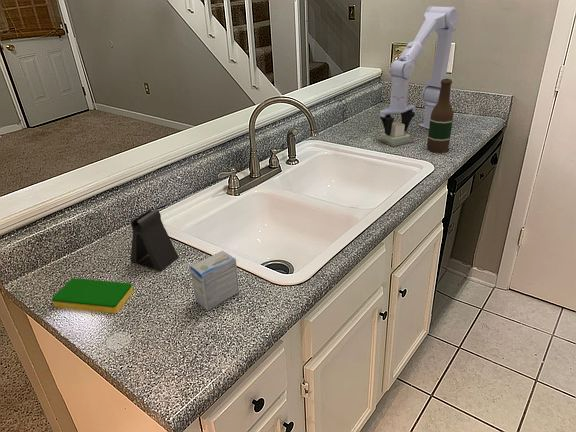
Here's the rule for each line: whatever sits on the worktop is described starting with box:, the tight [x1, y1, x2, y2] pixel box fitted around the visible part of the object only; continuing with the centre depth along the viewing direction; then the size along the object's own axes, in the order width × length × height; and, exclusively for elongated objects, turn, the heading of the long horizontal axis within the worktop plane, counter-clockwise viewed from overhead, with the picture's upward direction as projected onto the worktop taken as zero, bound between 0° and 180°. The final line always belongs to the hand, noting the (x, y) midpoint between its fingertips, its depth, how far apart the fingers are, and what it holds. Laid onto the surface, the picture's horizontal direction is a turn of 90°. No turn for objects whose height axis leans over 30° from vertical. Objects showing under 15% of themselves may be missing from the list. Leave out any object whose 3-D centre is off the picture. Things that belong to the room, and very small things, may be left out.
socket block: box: [375, 132, 416, 148], centre depth 166 cm, size 10×10×2 cm
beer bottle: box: [426, 78, 454, 154], centre depth 152 cm, size 8×8×24 cm
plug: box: [389, 121, 405, 138], centre depth 165 cm, size 4×4×6 cm
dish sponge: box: [51, 277, 134, 314], centre depth 91 cm, size 7×14×2 cm, turn 79°
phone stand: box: [130, 207, 179, 273], centre depth 100 cm, size 9×6×12 cm, turn 63°
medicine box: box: [189, 250, 240, 311], centre depth 88 cm, size 8×4×9 cm, turn 133°
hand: (395, 132), depth 165 cm, fingers open, 7 cm apart
